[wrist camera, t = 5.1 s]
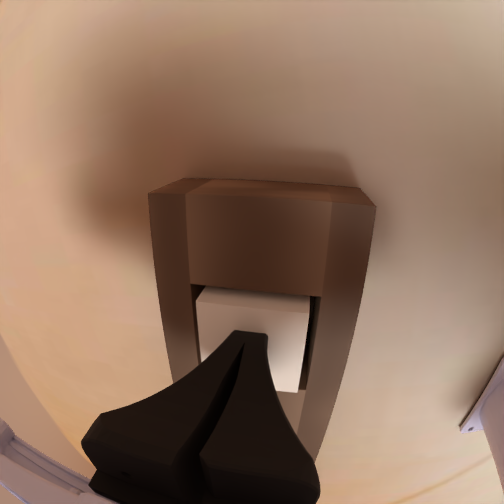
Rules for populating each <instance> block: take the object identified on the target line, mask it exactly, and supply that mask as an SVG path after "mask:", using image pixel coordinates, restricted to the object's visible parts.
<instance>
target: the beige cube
mask: <svg viewBox="0 0 504 504" xmlns="http://www.w3.org/2000/svg"><path fill="white" fill-rule="evenodd" d="M196 310H197V322H198V333H199V343H200V353H201V362H203V361H204V360H205V359H206V358H207V357H208V356H209V355H210V354H211V353H212V352H213V351H214V350H215V349H216V348H217V347H218V346H219V345H220V344H221V343H222V342H223V341H224V340H225V339H226V338H227V337H228V336H229V335H230V333H231V332H232V331H234V330H240V331H248V332H257V333H266V334H267V335H268V349H267V354H268V361H269V366H270V372H271V376H272V379H273V383H274V386H275V390H276V391H284V392H294V393H297V392H298V386H299V380H300V374H301V368H302V362H303V355H304V348H305V342H306V335H307V327H308V320H309V310H310V296H307V295H295V294H284V293H273V292H263V291H253V290H243V289H234V288H225V287H216V286H207V285H206V286H205V288H204V289H203V291H202V292H201V294H200V295H199V297H198V298H197V300H196Z"/></svg>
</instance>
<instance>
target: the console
mask: <svg viewBox="0 0 504 504" xmlns="http://www.w3.org/2000/svg"><path fill="white" fill-rule="evenodd" d="M148 199H149V213H150V226H151V237H152V247H153V257H154V266H155V274H156V282H157V290H158V297H159V304H160V311H161V318H162V324H163V330H164V336H165V342H166V348H167V353H168V359H169V364H170V369H171V374H172V379H173V383H175V382H177V381H178V380H180V379H181V378H182V377H184V376H185V375H187V374H188V373H189V372H191V371H192V370H193V369H194V368H195V367H197V366H198V365H199V364H200V363H201V353H200V343H199V333H198V322H197V310H196V300H197V298H198V297H199V295H200V294H201V292H202V291H203V289H204V288H205V286H206V285H207V286H216V287H225V288H234V289H243V290H253V291H263V292H273V293H284V294H295V295H307V296H315V303H314V311H313V318H312V325H311V332H310V339H309V344H305V348H304V355H303V362H302V368H301V374H300V380H299V386H298V392H297V393H294V392H284V391H276V393H277V395H278V398H279V401H280V403H281V406H282V408H283V410H284V412H285V415H286V417H287V418H288V420H289V422H290V424H291V426H292V428H293V430H294V432H295V433H296V435H297V436H298V438H299V440H300V441H301V443H302V444H303V446H304V447H305V449H306V450H307V451H308V453H309V454H310V455H311V457H312V458H313V460H314V463H315V460H316V458H317V455H318V452H319V449H320V447H321V444H322V441H323V438H324V435H325V432H326V429H327V426H328V423H329V420H330V417H331V414H332V411H333V408H334V405H335V401H336V398H337V395H338V391H339V388H340V384H341V381H342V377H343V374H344V370H345V366H346V363H347V359H348V355H349V351H350V347H351V343H352V339H353V335H354V330H355V326H356V322H357V317H358V312H359V308H360V303H361V298H362V293H363V288H364V283H365V277H366V272H367V266H368V260H369V254H370V248H371V241H372V235H373V228H374V220H375V212H376V206H375V204H374V203H373V202H372V201H371V200H370V199H369V198H368V197H367V195H366V194H365V193H364V192H363V191H362V190H361V189H360V188H353V187H342V186H331V185H320V184H307V183H293V182H276V181H257V180H233V179H181V180H179V181H176V182H174V183H171V184H169V185H166V186H164V187H162V188H159V189H157V190H155V191H152V192H150V193H148Z"/></svg>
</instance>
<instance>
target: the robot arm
mask: <svg viewBox="0 0 504 504" xmlns="http://www.w3.org/2000/svg"><path fill="white" fill-rule="evenodd" d="M267 349H268V335H267V334H266V333H257V332H248V331H240V330H234V331H232V332H231V333H230V335H229V336H228V337H227V338H226V339H225V340H224V341H223V342H222V343H221V344H220V345H219V346H218V347H217V348H216V349H215V350H214V351H213V352H212V353H211V354H210V355H209V356H208V357H207V358H206V359H205V360H204V361H203V362H201V363H200V364H199V365H198V366H197V367H195V368H194V369H193V370H192V371H191V372H189V373H188V374H187V375H185V376H184V377H182V378H181V379H180V380H178V381H177V382H175V383H173V384H172V385H170V386H169V387H167V388H165V389H163V390H162V391H160V392H158V393H156V394H154V395H152V396H150V397H148V398H146V399H143V400H141V401H139V402H136V403H134V404H131V405H128V406H125V407H122V408H119V409H116V410H112V411H109V412H105V413H101V414H100V415H99V416H98V418H97V419H96V420H95V421H94V423H93V424H92V426H91V427H90V429H89V430H88V432H87V433H86V435H85V436H84V438H83V439H82V441H81V445H82V448H83V450H84V452H85V454H86V455H87V456H88V458H89V459H90V461H91V462H92V463H93V465H94V466H95V467H96V469H97V470H96V472H95V474H94V476H93V477H92V479H89V478H87V477H85V476H83V475H81V474H79V473H77V472H75V471H73V470H71V469H69V468H68V467H66V466H64V465H62V464H60V463H59V462H57V461H55V460H53V459H52V458H50V457H48V456H46V455H45V454H43V453H42V452H40V451H39V450H37V449H35V448H33V447H32V446H31V445H29V444H27V443H26V442H24V441H23V440H22V439H20V438H19V437H17V436H16V435H15V434H14V432H13V430H12V429H11V428H10V427H9V425H8V424H7V423H6V422H5V421H3V420H2V419H1V418H0V484H1V485H2V486H3V487H4V488H6V489H7V490H8V491H9V492H10V493H12V494H13V495H14V496H15V497H17V498H18V499H19V500H21V501H22V502H23V503H25V504H316V502H317V500H318V499H319V497H320V482H319V477H318V473H317V470H316V467H315V464H314V460H313V458H312V457H311V455H310V454H309V453H308V451H307V450H306V449H305V447H304V446H303V444H302V443H301V441H300V440H299V438H298V436H297V435H296V433H295V432H294V430H293V428H292V426H291V424H290V422H289V420H288V418H287V417H286V415H285V412H284V410H283V408H282V406H281V403H280V401H279V398H278V395H277V393H276V390H275V386H274V383H273V379H272V376H271V372H270V366H269V361H268V354H267ZM479 430H484V432H485V435H486V437H487V440H488V443H489V446H490V449H491V452H492V455H493V458H494V461H495V464H496V468H497V471H498V474H499V478H500V482H501V485H502V489H503V493H504V357H503V358H502V360H501V362H500V364H499V365H498V367H497V369H496V371H495V373H494V375H493V376H492V378H491V380H490V382H489V384H488V385H487V387H486V389H485V390H484V392H483V394H482V395H481V397H480V399H479V400H478V402H477V403H476V405H475V406H474V408H473V409H472V411H471V413H470V414H469V416H468V417H467V418H466V420H465V421H464V423H463V424H462V426H461V427H460V432H461V433H468V432H474V431H479Z"/></svg>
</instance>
